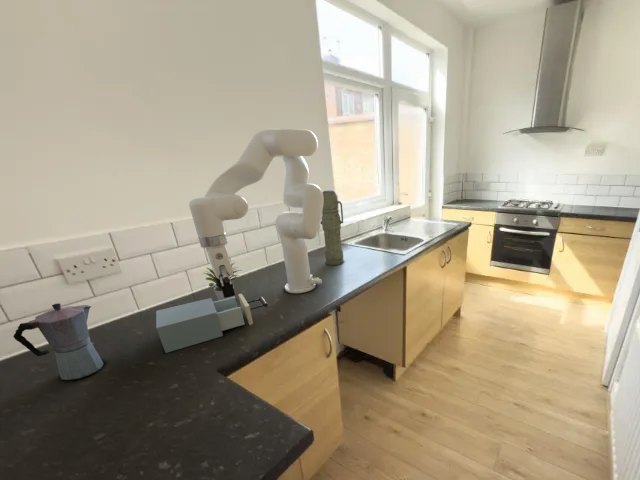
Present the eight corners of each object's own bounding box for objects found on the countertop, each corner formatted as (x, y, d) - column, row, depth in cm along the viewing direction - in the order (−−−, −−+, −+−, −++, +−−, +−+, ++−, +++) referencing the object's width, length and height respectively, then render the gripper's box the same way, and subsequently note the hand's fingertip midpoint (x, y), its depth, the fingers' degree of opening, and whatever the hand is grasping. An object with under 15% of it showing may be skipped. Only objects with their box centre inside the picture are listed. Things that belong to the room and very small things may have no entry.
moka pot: (123, 358, 91) (95, 295, 83) (59, 394, 78) (18, 325, 70) (101, 352, 94) (72, 291, 86) (35, 386, 81) (-6, 318, 73)
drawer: (263, 305, 117) (259, 289, 115) (272, 318, 109) (268, 300, 106) (200, 322, 107) (195, 304, 104) (204, 337, 99) (199, 318, 96)
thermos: (323, 260, 165) (315, 190, 151) (346, 258, 166) (340, 189, 152) (322, 266, 157) (314, 193, 143) (346, 264, 158) (341, 192, 144)
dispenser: (217, 319, 111) (211, 297, 107) (223, 336, 101) (216, 312, 97) (164, 334, 103) (156, 310, 99) (165, 353, 93) (156, 328, 90)
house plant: (230, 314, 114) (219, 271, 107) (197, 310, 117) (185, 269, 110) (253, 296, 127) (245, 258, 120) (223, 294, 130) (213, 256, 123)
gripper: (232, 244, 91) (244, 297, 99) (222, 232, 104) (234, 279, 112) (203, 249, 88) (218, 304, 95) (196, 236, 101) (210, 285, 108)
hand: (227, 291), depth 103 cm, fingers open, 9 cm apart
